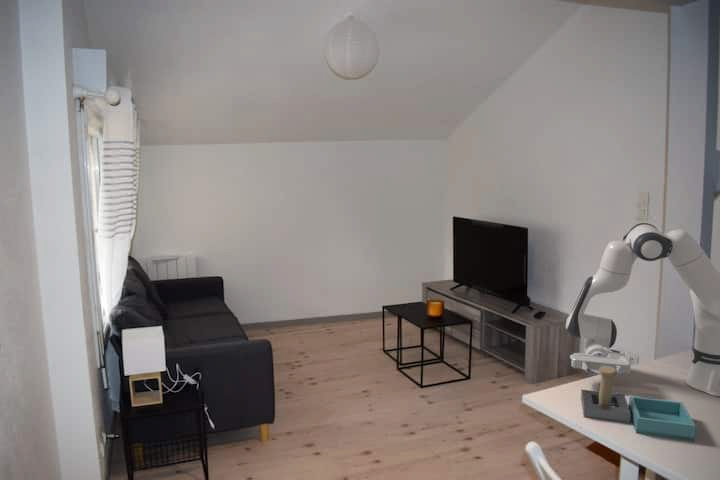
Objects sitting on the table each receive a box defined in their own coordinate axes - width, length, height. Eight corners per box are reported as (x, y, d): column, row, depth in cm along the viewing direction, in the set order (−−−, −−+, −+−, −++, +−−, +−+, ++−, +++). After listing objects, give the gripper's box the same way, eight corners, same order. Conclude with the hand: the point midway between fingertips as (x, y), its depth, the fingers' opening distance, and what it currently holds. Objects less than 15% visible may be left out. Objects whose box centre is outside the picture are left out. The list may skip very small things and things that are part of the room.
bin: (681, 416, 179) (682, 402, 178) (693, 441, 164) (695, 426, 163) (628, 409, 184) (629, 396, 183) (636, 432, 169) (637, 418, 168)
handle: (613, 408, 185) (616, 367, 182) (609, 416, 180) (612, 374, 177) (598, 404, 188) (601, 364, 185) (594, 412, 183) (597, 370, 180)
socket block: (623, 403, 188) (624, 394, 188) (629, 423, 175) (630, 413, 175) (580, 398, 193) (581, 389, 192) (583, 416, 180) (584, 407, 179)
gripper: (569, 346, 209) (571, 360, 196) (627, 352, 203) (633, 366, 190) (569, 362, 210) (570, 376, 197) (626, 368, 204) (632, 383, 191)
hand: (602, 371), depth 194 cm, fingers open, 8 cm apart
